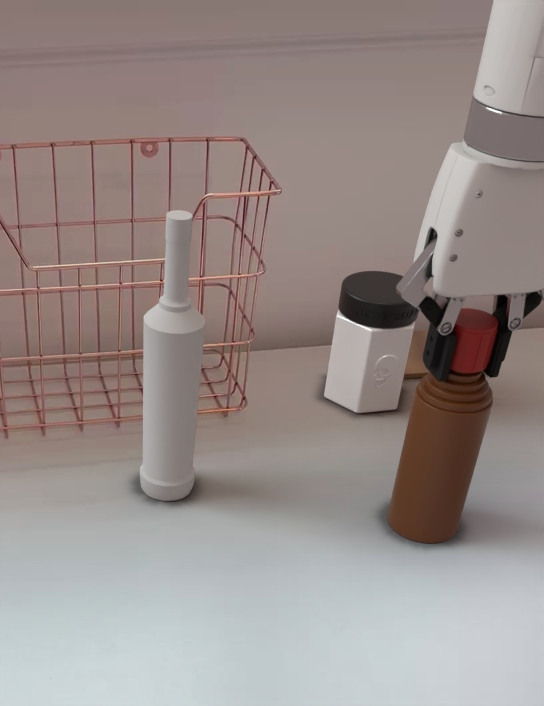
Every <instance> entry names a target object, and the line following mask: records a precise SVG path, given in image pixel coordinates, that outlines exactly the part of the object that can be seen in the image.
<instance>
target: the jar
mask: <svg viewBox="0 0 544 706" xmlns="http://www.w3.org/2000/svg"><path fill="white" fill-rule="evenodd" d="M403 276H404V275H401V274H398V273H394V272H389V271H383V270H364V271H357V272H354V273H352V274H349V275H347V276H346V277H345V278H344V279H343V280H342V282H341V286H340V292H339V297H338V298H339V300H338V305H337V307H338V310H337V313H336V316H335V321H334V328H333V334H332V341H331V348H330V354H329V361H328V365H327V372H326V380H325V386H324V393H323V396H324V398H325V399H327V400H328V401H330V402H333V403H335V404H336V405H339V406H341V407H343V408H345V409H347V410H349V411H351V412H353V413H354V414H355V413H356V414H367V413H374V412H375V413H376V412H386V411H395V410H397V408H398V406H399V401H400V396H401V393H402V388H403V382H404V380H405V379H404V374H405V369H406V364H407V360H408V355H409V350H410V345H411V341H412V336H413V331H415V326H416V321H417V319H418V318H419V317H418V316H419V313H420V312H421V311H420V310H419V309H417V308H415V307H414V306H413V305H411V304H410V303H408V302H407V301H405V300H404V299H403V298H402V297H401V296H400V295H399V294H398V293H397V291H396V286H397V284H398V283H399V282H400V280H401V279H402V278H403Z"/></svg>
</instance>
